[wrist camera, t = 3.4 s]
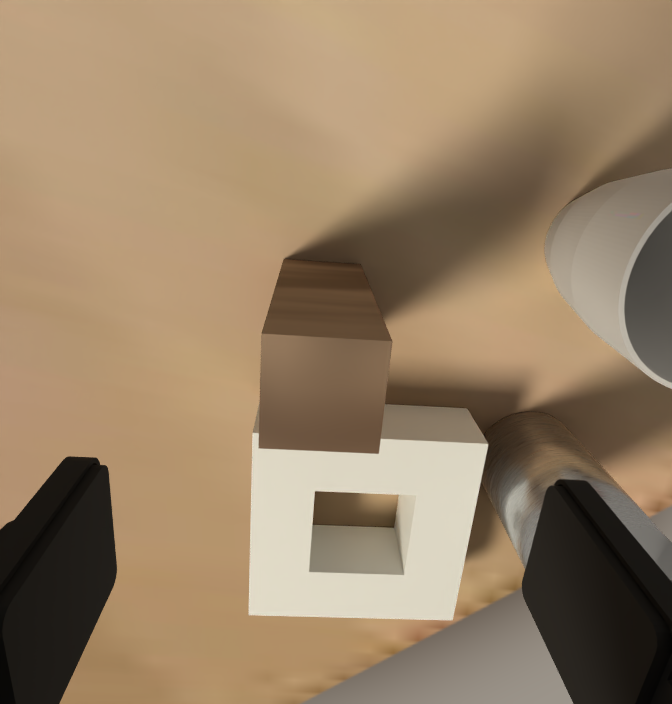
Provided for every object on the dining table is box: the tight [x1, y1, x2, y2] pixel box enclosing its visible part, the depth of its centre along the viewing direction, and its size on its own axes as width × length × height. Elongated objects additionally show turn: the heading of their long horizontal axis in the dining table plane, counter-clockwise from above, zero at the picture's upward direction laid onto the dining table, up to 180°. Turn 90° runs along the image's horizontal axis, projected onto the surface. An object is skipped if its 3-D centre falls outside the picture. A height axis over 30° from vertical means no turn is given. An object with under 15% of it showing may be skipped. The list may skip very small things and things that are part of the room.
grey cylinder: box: [481, 412, 672, 582], centre depth 27 cm, size 6×6×10 cm
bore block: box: [249, 402, 488, 620], centre depth 30 cm, size 12×12×4 cm
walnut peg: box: [259, 259, 392, 454], centre depth 22 cm, size 4×4×12 cm
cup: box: [545, 168, 672, 389], centre depth 23 cm, size 8×8×10 cm
